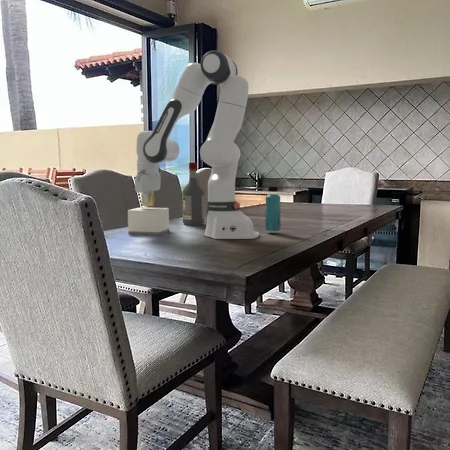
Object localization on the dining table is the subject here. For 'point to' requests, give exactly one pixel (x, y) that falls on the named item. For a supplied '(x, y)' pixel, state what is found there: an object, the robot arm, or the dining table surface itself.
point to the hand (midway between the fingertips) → (148, 202)
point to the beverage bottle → (273, 210)
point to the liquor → (193, 200)
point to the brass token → (151, 200)
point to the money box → (148, 221)
